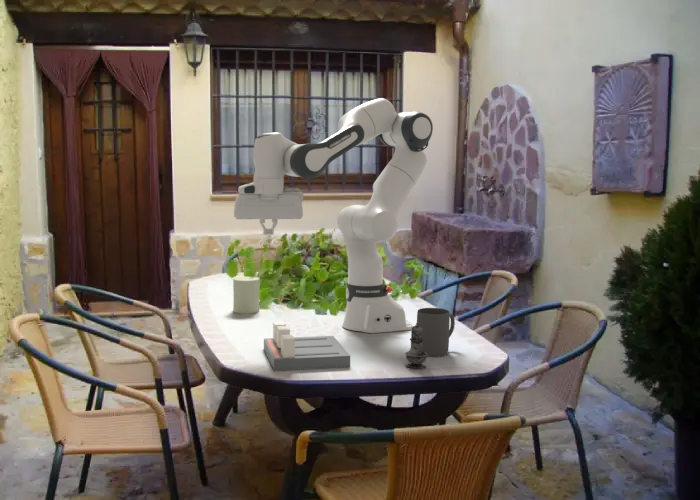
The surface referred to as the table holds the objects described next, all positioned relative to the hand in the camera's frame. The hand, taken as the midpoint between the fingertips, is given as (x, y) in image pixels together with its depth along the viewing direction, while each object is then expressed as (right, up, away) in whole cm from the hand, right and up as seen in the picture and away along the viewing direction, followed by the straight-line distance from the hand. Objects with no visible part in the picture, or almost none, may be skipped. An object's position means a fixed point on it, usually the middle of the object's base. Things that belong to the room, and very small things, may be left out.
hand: (268, 234), depth 223 cm
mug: (+49, -34, -10) cm, 60 cm away
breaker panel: (+12, -34, -19) cm, 40 cm away
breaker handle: (+6, -31, -20) cm, 37 cm away
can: (-12, -26, +41) cm, 50 cm away
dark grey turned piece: (+42, -36, -26) cm, 60 cm away
